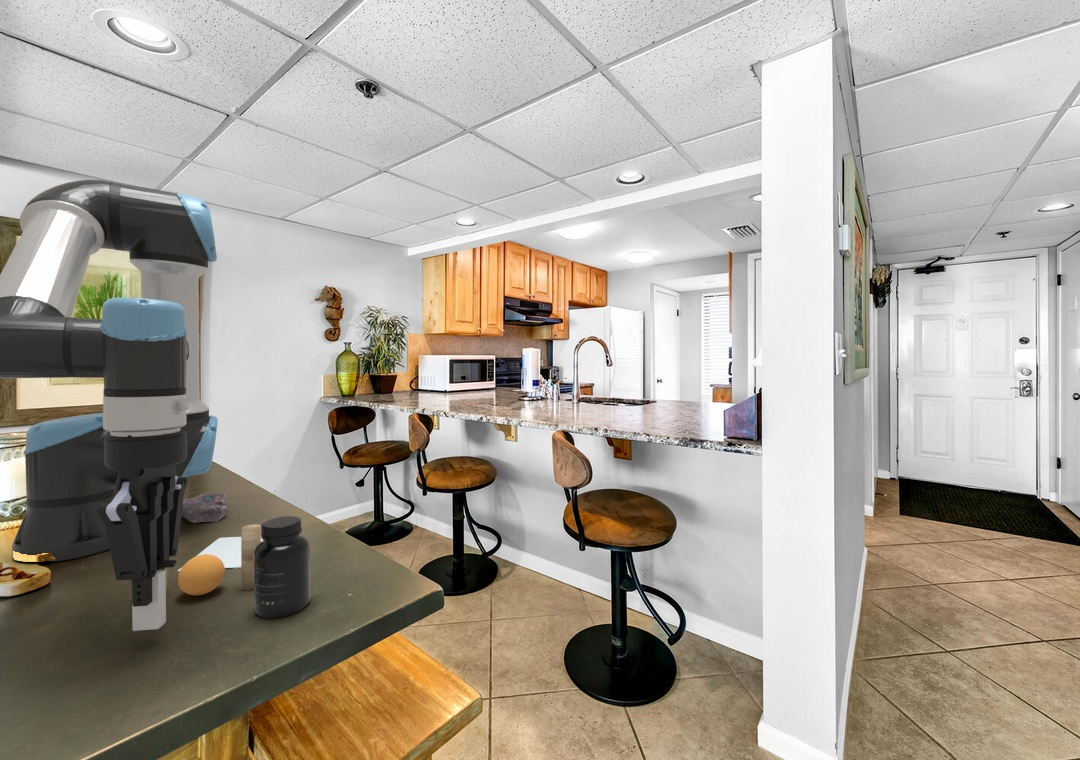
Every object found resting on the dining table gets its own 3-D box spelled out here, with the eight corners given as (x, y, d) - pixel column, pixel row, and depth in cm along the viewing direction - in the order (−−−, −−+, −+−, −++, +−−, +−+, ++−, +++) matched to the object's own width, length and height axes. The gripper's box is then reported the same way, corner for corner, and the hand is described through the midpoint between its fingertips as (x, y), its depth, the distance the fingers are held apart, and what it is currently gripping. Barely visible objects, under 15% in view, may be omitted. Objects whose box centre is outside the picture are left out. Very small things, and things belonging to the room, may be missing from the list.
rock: (186, 529, 93) (186, 506, 93) (173, 516, 101) (173, 495, 101) (233, 519, 99) (233, 498, 99) (217, 508, 107) (217, 488, 107)
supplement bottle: (273, 593, 68) (273, 512, 68) (319, 595, 68) (319, 513, 68) (241, 619, 61) (241, 529, 61) (293, 621, 61) (292, 530, 61)
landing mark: (219, 538, 88) (219, 537, 88) (299, 534, 91) (299, 533, 91) (177, 571, 74) (177, 570, 74) (273, 565, 77) (273, 564, 77)
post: (245, 583, 71) (245, 524, 71) (263, 581, 72) (263, 524, 71) (238, 591, 69) (238, 530, 68) (257, 589, 69) (257, 529, 69)
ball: (192, 552, 70) (171, 559, 65) (232, 550, 71) (215, 556, 66) (188, 591, 69) (167, 601, 64) (229, 588, 70) (212, 598, 65)
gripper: (149, 439, 50) (151, 657, 50) (210, 423, 62) (211, 597, 63) (65, 440, 48) (69, 664, 49) (145, 423, 61) (147, 601, 62)
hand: (149, 626), depth 56 cm, fingers closed
